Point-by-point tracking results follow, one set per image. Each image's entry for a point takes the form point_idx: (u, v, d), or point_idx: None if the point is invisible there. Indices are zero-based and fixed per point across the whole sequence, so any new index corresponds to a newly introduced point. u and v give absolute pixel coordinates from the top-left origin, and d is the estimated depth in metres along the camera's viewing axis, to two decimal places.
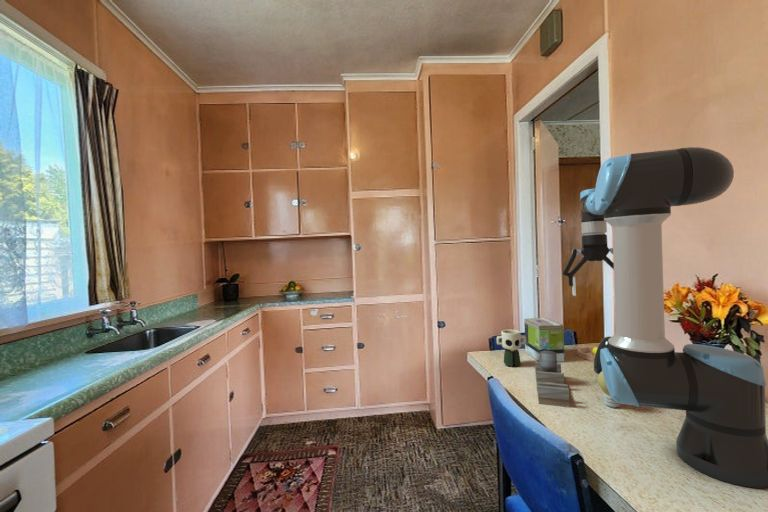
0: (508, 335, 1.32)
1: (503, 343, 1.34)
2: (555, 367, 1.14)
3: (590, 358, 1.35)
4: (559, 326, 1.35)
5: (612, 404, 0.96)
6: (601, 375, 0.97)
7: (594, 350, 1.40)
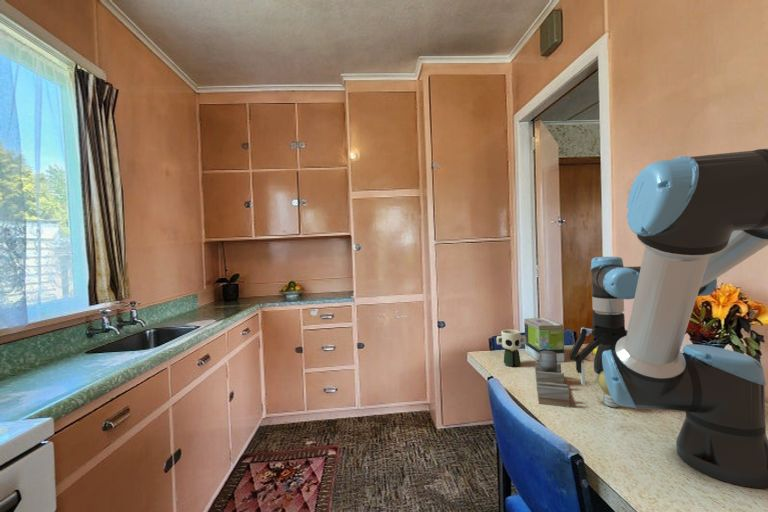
0: (508, 335, 1.32)
1: (503, 343, 1.34)
2: (555, 367, 1.14)
3: (590, 358, 1.35)
4: (559, 326, 1.35)
5: (612, 404, 0.96)
6: (601, 375, 0.97)
7: (595, 351, 1.39)
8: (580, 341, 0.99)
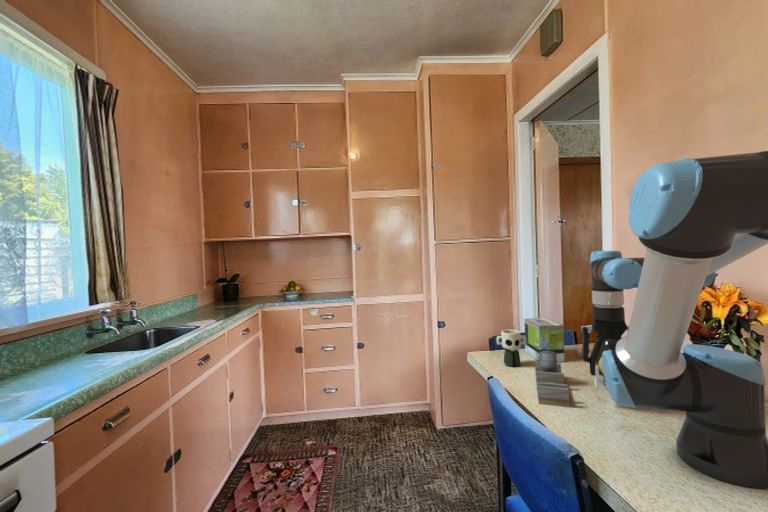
0: (508, 335, 1.32)
1: (503, 343, 1.34)
2: (555, 367, 1.14)
3: None
4: (559, 326, 1.35)
5: None
6: (601, 358, 0.97)
7: None
8: (586, 340, 0.98)
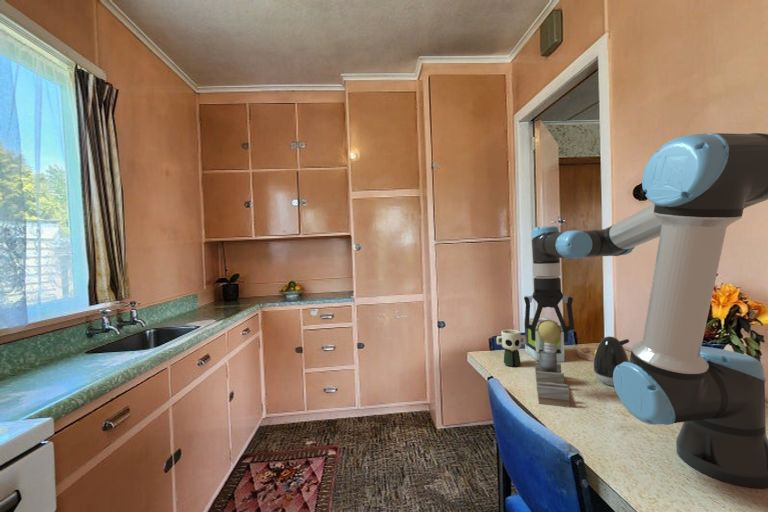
0: (508, 335, 1.32)
1: (503, 343, 1.34)
2: (555, 367, 1.14)
3: (590, 358, 1.35)
4: None
5: (549, 350, 1.05)
6: (540, 324, 1.07)
7: None
8: (527, 309, 1.08)
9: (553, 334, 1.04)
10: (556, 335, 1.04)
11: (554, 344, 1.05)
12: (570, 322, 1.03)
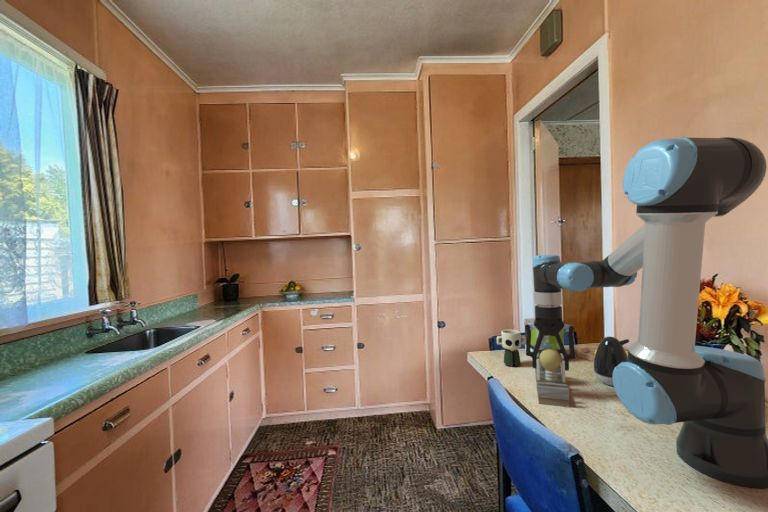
0: (508, 335, 1.32)
1: (503, 343, 1.34)
2: None
3: (590, 358, 1.35)
4: None
5: (550, 378, 1.05)
6: (541, 352, 1.07)
7: None
8: (528, 336, 1.08)
9: (554, 363, 1.04)
10: (557, 364, 1.04)
11: (555, 372, 1.05)
12: (571, 351, 1.04)
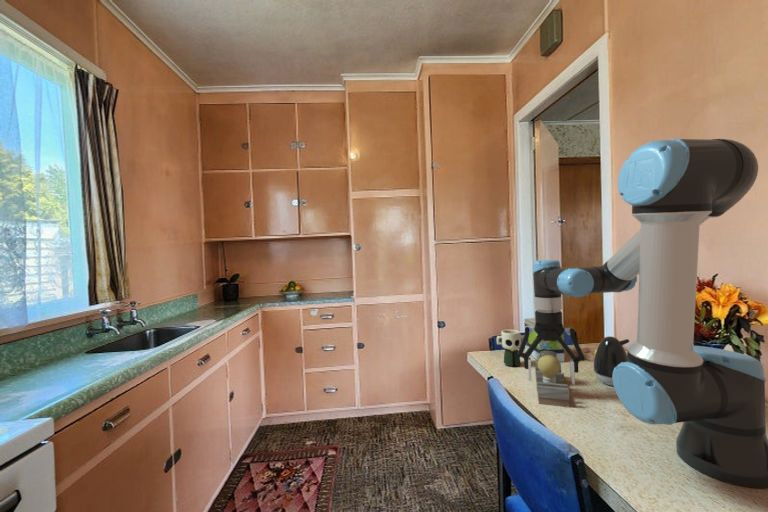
0: (508, 335, 1.32)
1: (503, 343, 1.34)
2: None
3: (590, 358, 1.35)
4: None
5: None
6: (539, 359, 1.07)
7: None
8: (525, 339, 1.08)
9: (553, 369, 1.04)
10: (556, 370, 1.04)
11: (554, 379, 1.05)
12: (579, 353, 1.03)
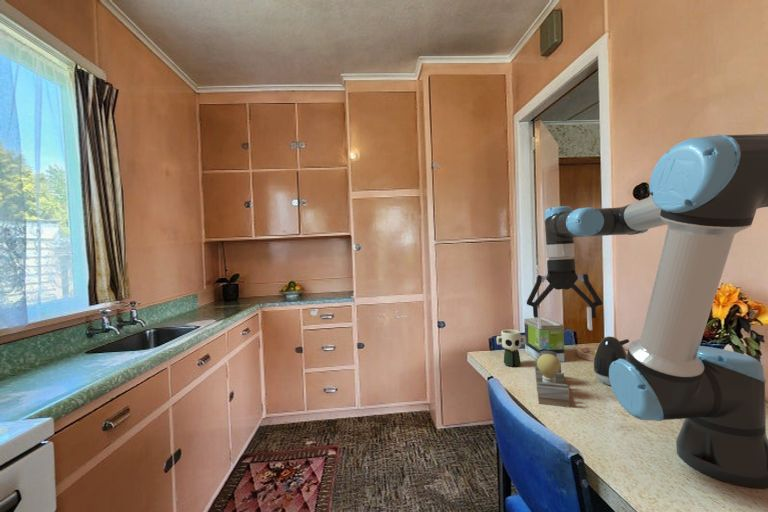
0: (508, 335, 1.32)
1: (503, 343, 1.34)
2: None
3: (590, 358, 1.35)
4: (559, 326, 1.35)
5: None
6: (539, 359, 1.07)
7: None
8: (536, 287, 1.06)
9: (553, 369, 1.04)
10: (555, 370, 1.04)
11: (553, 379, 1.05)
12: (596, 298, 1.01)
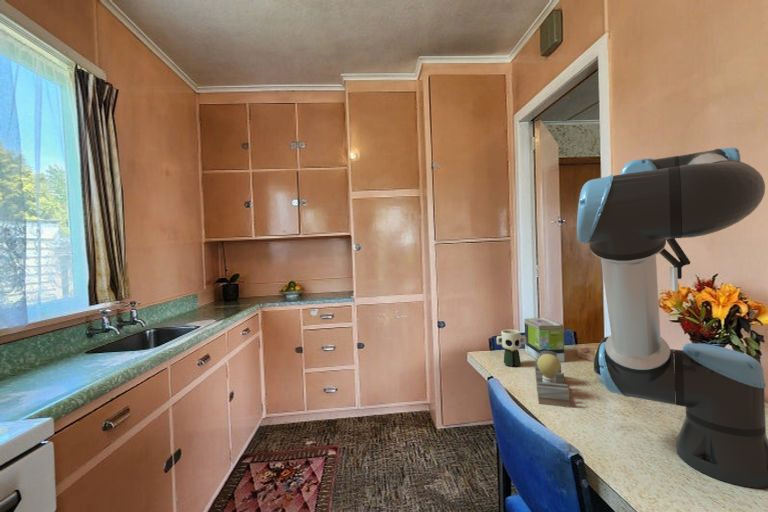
0: (508, 335, 1.32)
1: (503, 343, 1.34)
2: None
3: (590, 358, 1.35)
4: (559, 326, 1.35)
5: None
6: (539, 359, 1.07)
7: None
8: None
9: (553, 369, 1.04)
10: (556, 370, 1.04)
11: (554, 379, 1.05)
12: (682, 257, 0.94)
